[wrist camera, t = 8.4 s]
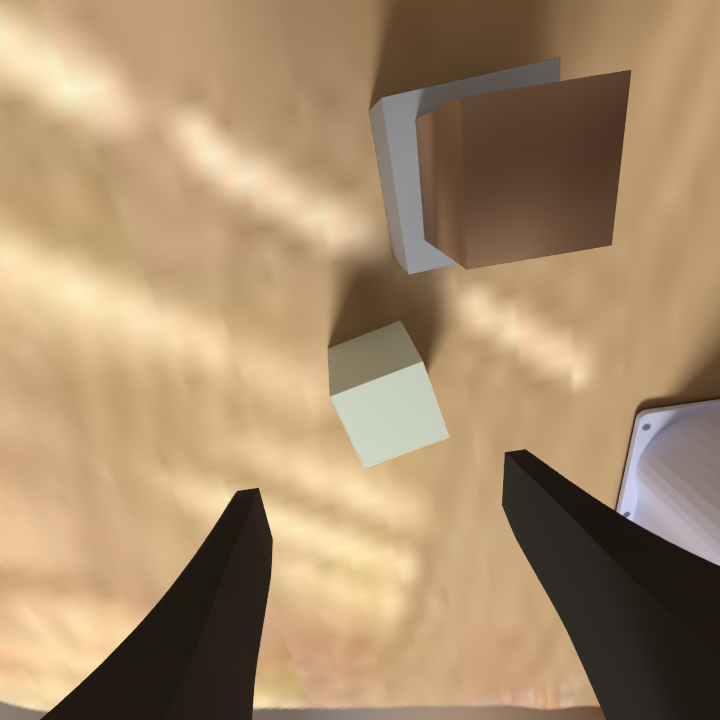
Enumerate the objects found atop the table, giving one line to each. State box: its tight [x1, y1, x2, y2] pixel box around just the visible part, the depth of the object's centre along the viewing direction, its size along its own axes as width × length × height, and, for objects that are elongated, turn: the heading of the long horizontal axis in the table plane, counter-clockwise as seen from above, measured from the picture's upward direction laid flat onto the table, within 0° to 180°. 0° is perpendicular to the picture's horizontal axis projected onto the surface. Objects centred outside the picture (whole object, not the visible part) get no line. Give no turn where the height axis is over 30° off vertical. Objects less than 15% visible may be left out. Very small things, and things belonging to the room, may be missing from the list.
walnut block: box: [415, 70, 631, 270], centre depth 13 cm, size 4×4×5 cm
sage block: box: [328, 320, 449, 468], centre depth 20 cm, size 4×4×5 cm
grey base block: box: [369, 57, 560, 275], centre depth 17 cm, size 6×6×4 cm
